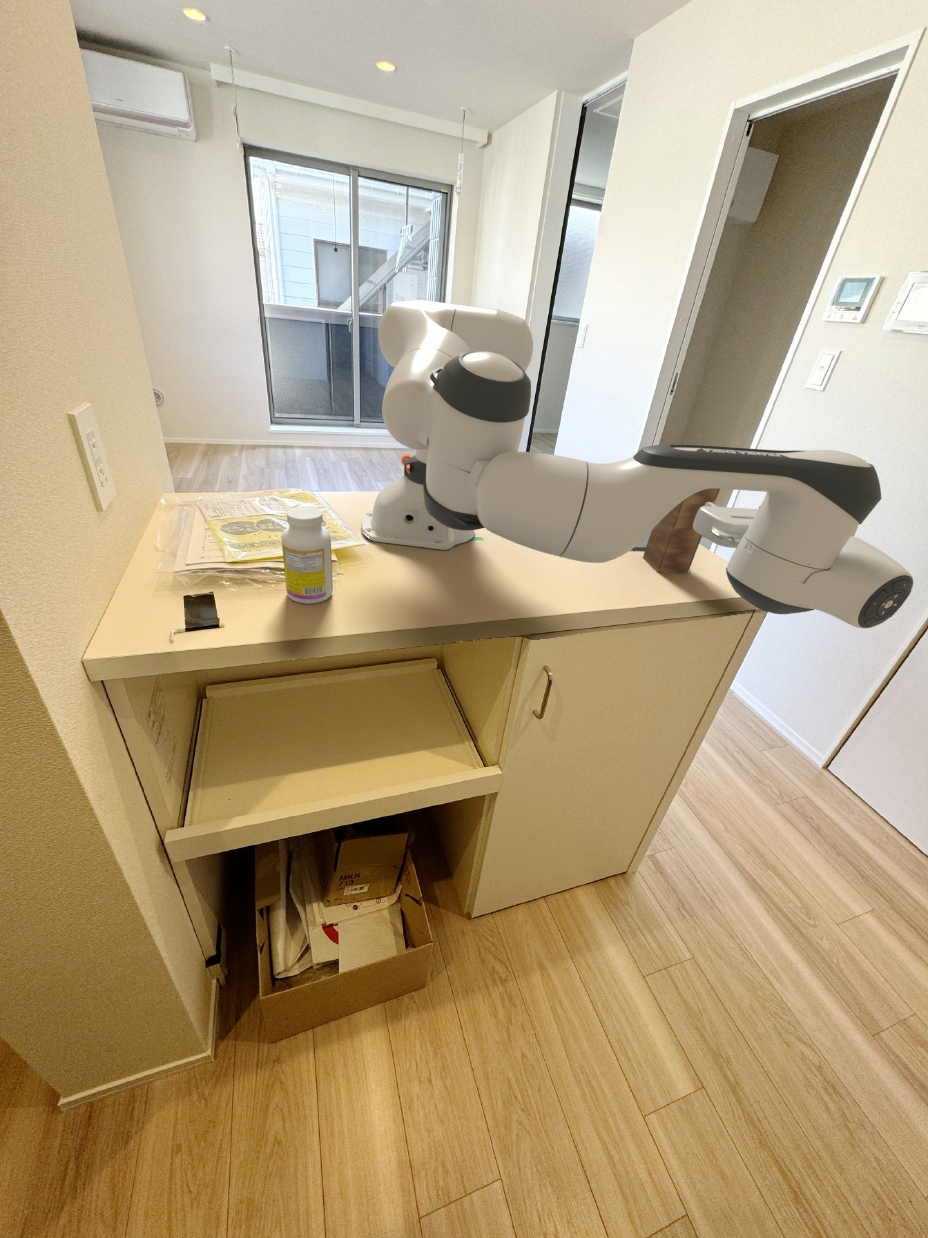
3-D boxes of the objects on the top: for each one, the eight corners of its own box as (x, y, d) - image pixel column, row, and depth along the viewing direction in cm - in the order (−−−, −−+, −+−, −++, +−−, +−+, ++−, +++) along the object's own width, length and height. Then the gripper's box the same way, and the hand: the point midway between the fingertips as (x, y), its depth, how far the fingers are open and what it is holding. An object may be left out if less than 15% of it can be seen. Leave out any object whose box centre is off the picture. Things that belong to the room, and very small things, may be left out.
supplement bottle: (305, 579, 79) (299, 500, 73) (341, 590, 78) (339, 510, 71) (276, 598, 74) (268, 514, 67) (315, 610, 72) (310, 525, 66)
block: (657, 572, 96) (690, 475, 87) (642, 557, 102) (672, 464, 92) (687, 573, 97) (724, 477, 88) (671, 558, 103) (704, 466, 93)
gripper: (715, 562, 69) (669, 523, 81) (845, 567, 72) (782, 529, 84) (733, 519, 66) (682, 484, 77) (868, 526, 69) (800, 492, 81)
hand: (735, 508), depth 81 cm, fingers open, 8 cm apart
